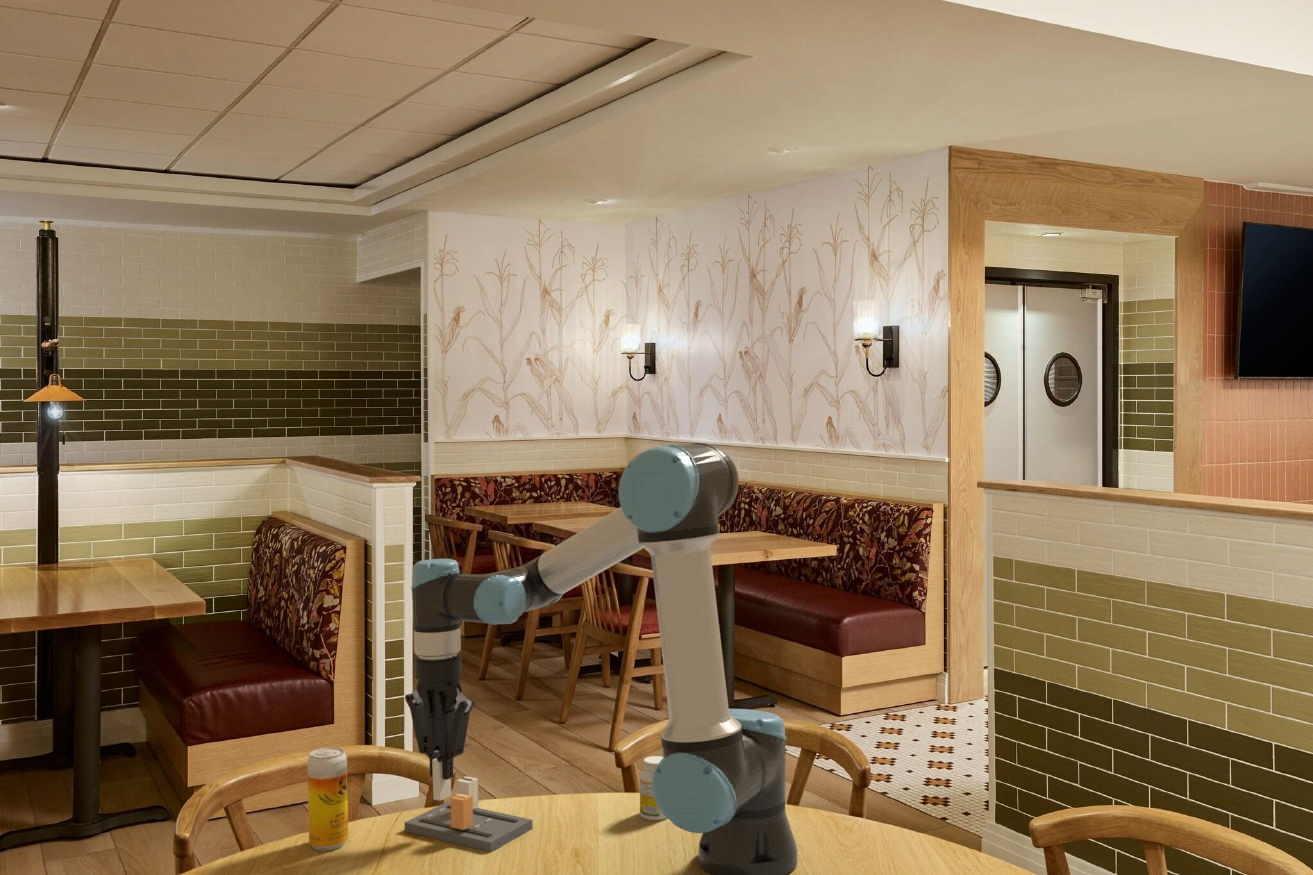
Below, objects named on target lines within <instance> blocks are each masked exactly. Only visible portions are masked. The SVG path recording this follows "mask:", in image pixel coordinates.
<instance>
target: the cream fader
mask: <svg viewBox="0 0 1313 875" xmlns="http://www.w3.org/2000/svg"><path fill="white" fill-rule="evenodd" d="M478 780H479V779H478V778H476V777H470V776H468V775H467V776H462V777H461V778H459V779H457V780H456V795H457V794H460V793H461V794H466V795H470V796H473V809H474V808H479V781H478Z"/></svg>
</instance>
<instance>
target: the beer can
mask: <svg viewBox="0 0 1313 875" xmlns="http://www.w3.org/2000/svg"><path fill="white" fill-rule="evenodd" d="M306 767H307V800H308V801H307V808H308V810H307V811H308V816H307V817H308V843H309V845H311V846H312V848H313V849H314V850H316V851H324V852H325V851H333V850H336V849H339V848H341V847H344V845H345V844H346V842H347V841H348V840H349V804H348V803H349V802H348V800H349V799H348V756H347V755H346V752H345V749H344V748H342V747H336V746H328V747H321V748H317V749H313V750H312V751H310V752H309V756H308V759H307V766H306Z"/></svg>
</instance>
